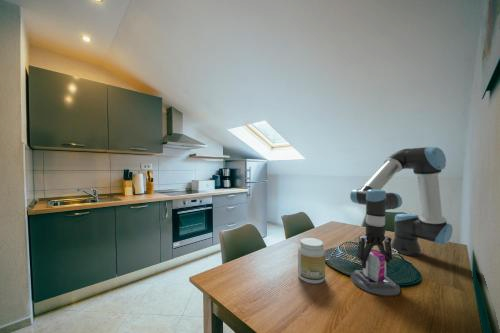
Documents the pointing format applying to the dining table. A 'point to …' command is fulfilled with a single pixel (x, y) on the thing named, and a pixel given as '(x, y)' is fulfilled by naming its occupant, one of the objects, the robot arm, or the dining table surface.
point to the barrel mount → (375, 285)
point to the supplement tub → (311, 260)
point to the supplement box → (376, 266)
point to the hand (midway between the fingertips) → (374, 274)
